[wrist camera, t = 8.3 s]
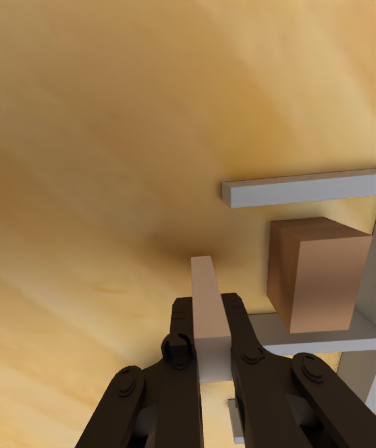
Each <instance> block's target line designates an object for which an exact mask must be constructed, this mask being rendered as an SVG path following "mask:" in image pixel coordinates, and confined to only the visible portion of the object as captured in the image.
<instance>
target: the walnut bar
mask: <svg viewBox="0 0 376 448" xmlns="http://www.w3.org/2000/svg"><path fill="white" fill-rule="evenodd" d="M371 240H372V235H369V234H367V233H364V232H361V231H359V230H356V229H354V228H351V227H349V226H346V225H343V224H341V223H338V222H336V221H333V220H330V219H328V218H325V217H315V218H304V219H292V220H280V221H271V229H270V246H269V263H268V280H267V297H268V298H269V300H270V302H271V303H272V305H273V307H274V308H275V310H276V312H277V313H278V315H279V317H280V318H281V320H282V322H283V323H284V325H285V327H286V328H287V330H288V332H289V333H305V332H320V331H335V330H349V326H350V322H351V318H352V314H353V310H354V306H355V302H356V298H357V295H358V291H359V287H360V283H361V279H362V275H363V271H364V267H365V263H366V259H367V255H368V251H369V248H370V244H371Z"/></svg>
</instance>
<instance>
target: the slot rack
mask: <svg viewBox="0 0 376 448" xmlns="http://www.w3.org/2000/svg"><path fill="white" fill-rule="evenodd" d="M221 185H222V200H223V201H224V202H225V203H226V204H227V205H228V206H229V207H230V208H242V207H253V206H265V205H276V204H287V203H299V202H310V201H321V200H333V199H344V198H355V197H366V196H376V168H373V169H362V170H351V171H340V172H330V173H319V174H308V175H298V176H287V177H276V178H265V179H255V180H244V181H233V182H222V183H221ZM248 317H249V319H250V322H251V324H252V327H253V329H254V332H255V334H256V337H257V339H258V341H259V342H260V344H261V345H262V346H263V347H264V348H265V349H266V350H268V351H270V352H271V353H273V354H276V355H279V356H283V355H296V354H297V353H301V352H306V353H311V354H315V353H330V352H342V356H341V360H340V364H339V368H338V372H337V375H338V376H339V377H340V378H341V379H342V380H343V381H344V382H345V383H346V384H347V385H348V387H349V388H350V389H351V390H352V391H353V392H354V393H355V394H356V395H357V396H358V397H359V398H360V399H361V400H362V401H363V402H364V404H365V405H366V406H367V407H368V408H369V409H370V410H371V411H372V412H373V413H374V414H375V411H376V223H375V227H374V231H373V235H372V240H371V244H370V248H369V251H368V255H367V259H366V263H365V267H364V271H363V275H362V279H361V283H360V287H359V291H358V295H357V298H356V302H355V306H354V310H353V314H352V318H351V322H350V326H349V330H335V331H320V332H305V333H289V332H288V330H287V328H286V327H285V325H284V323H283V322H282V320H281V318H280V317H279V315H278V313H270V314H256V315H248ZM228 407H229V413H230V419H231V425H232V431H233V437H234V443H235V444H245V443H244V438H243V433H242V428H241V423H240V418H239V413H238V408H235V400H228Z"/></svg>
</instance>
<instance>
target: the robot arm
mask: <svg viewBox="0 0 376 448" xmlns="http://www.w3.org/2000/svg"><path fill="white" fill-rule="evenodd" d="M191 275H192V297H183V298H176V300H175V302H174V303H173V305H172V315H171V325H170V334H168V335H167V336H166V337H165V339H164V340H163V342H162V345H161V350H162V355H163V358H162V359H161V360H160V361H159V362H158V363H156V364H154V365H152V366H150V367H148V368H146V369H143V370H141V368H139V367H137V366H128V367H125V368H123V369H121V370H120V371H119V372H118V373H117V374H116V375H115V376H114V378H113V379H112V380H111V382H110V384H109V386H108V388H107V389H106V391H105V393H104V395H103V397H102V399H101V400H100V402H99V404H98V406H97V408H96V410H95V411H94V413H93V415H92V417H91V419H90V421H89V422H88V424H87V426H86V428H85V430H84V432H83V433H82V435H81V437H80V439H79V441H78V443H77V444H76V446H75V448H149V447H150V443H151V440H152V436H153V433H154V431H156V434H155V443H154V448H204V438H203V422H202V405H201V394H200V383H202V382H217V381H231V380H232V377H233V382H234V386H235V408H238V413H239V418H240V423H241V428H242V433H243V438H244V443H245V448H376V415H375V414H374V413H373V412H372V411H371V410H370V409H369V408H368V407H367V406H366V405H365V404H364V402H363V401H362V400H361V399H360V398H359V397H358V396H357V395H356V394H355V393H354V392H353V391H352V390H351V389H350V388H349V387H348V385H347V384H346V383H345V382H344V381H343V380H342V379H341V378H340V377H339V376H338V375H337V374H336V373H335V372H334V371H333V370H332V369H331V367H330V366H329V365H328V364H327V363H325V362H324V361H323V360H322V359H321V358H319V357H317V356H315V355H313V354H311V353H306V352H301V353H297V354H296V355H294V356H293V359H291V358H287V357H283V356H279V355H276V354H273V353H271V352H270V351H268V350H266V349H265V348H264V347H263V346H262V345H261V344H260V342H259V341H258V339H257V337H256V334H255V332H254V329H253V327H252V324H251V322H250V319H249V317H248V314H247V312H246V309H245V307H244V304H243V302H242V299H241V298H240V297H239V296H238V295H237V294H236V293H224V294H220V290H219V286H218V282H217V278H216V275H215V271H214V267H213V263H212V259H211V256H199V257H191Z"/></svg>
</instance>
